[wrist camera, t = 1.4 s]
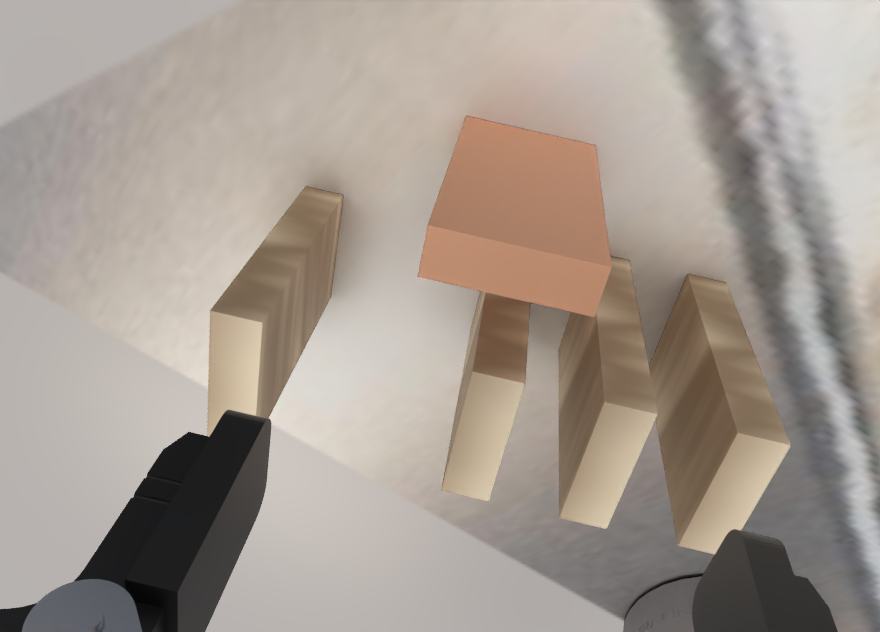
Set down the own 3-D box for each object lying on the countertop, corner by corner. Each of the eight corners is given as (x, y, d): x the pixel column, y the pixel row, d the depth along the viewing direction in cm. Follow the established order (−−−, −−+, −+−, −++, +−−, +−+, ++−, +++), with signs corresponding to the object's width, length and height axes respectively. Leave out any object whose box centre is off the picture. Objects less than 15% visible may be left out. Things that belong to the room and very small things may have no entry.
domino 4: (629, 260, 31) (657, 414, 22) (593, 358, 33) (606, 528, 25) (591, 251, 31) (604, 402, 22) (558, 350, 33) (559, 518, 25)
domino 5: (725, 282, 31) (791, 445, 22) (682, 378, 33) (725, 556, 25) (687, 273, 31) (737, 432, 22) (647, 370, 33) (678, 545, 25)
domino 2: (466, 116, 28) (427, 225, 20) (595, 145, 28) (611, 267, 20) (457, 155, 29) (417, 276, 21) (583, 184, 29) (593, 317, 21)
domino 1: (343, 195, 31) (262, 322, 22) (330, 297, 33) (253, 446, 25) (305, 186, 31) (210, 310, 22) (295, 289, 33) (207, 435, 25)
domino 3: (533, 238, 31) (525, 383, 22) (505, 338, 33) (488, 501, 25) (495, 229, 31) (472, 371, 22) (470, 329, 33) (441, 490, 25)
